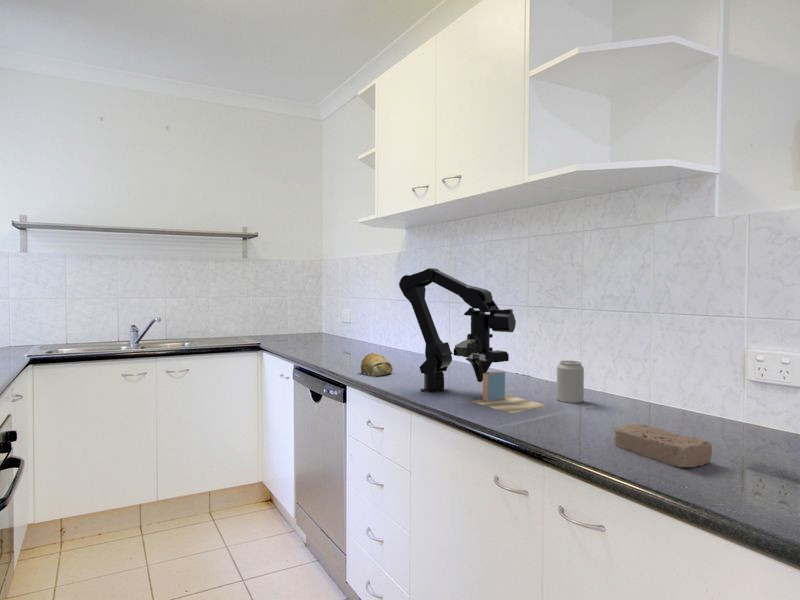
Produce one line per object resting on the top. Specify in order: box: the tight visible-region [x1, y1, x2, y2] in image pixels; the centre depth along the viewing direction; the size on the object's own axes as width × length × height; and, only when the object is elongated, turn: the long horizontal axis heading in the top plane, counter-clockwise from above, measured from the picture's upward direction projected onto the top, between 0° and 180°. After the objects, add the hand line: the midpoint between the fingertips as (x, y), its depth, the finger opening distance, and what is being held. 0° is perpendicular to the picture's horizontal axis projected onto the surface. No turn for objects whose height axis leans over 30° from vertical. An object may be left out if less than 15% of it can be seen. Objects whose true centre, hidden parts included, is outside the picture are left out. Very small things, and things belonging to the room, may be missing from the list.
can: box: [556, 360, 585, 404], centre depth 146 cm, size 8×8×12 cm
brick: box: [613, 423, 713, 468], centre depth 102 cm, size 17×8×5 cm, turn 26°
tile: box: [482, 370, 506, 402], centre depth 147 cm, size 2×7×8 cm, turn 124°
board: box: [470, 394, 550, 414], centre depth 142 cm, size 16×15×1 cm
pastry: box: [360, 352, 393, 377], centre depth 194 cm, size 14×12×8 cm
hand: (479, 381), depth 152 cm, fingers closed
